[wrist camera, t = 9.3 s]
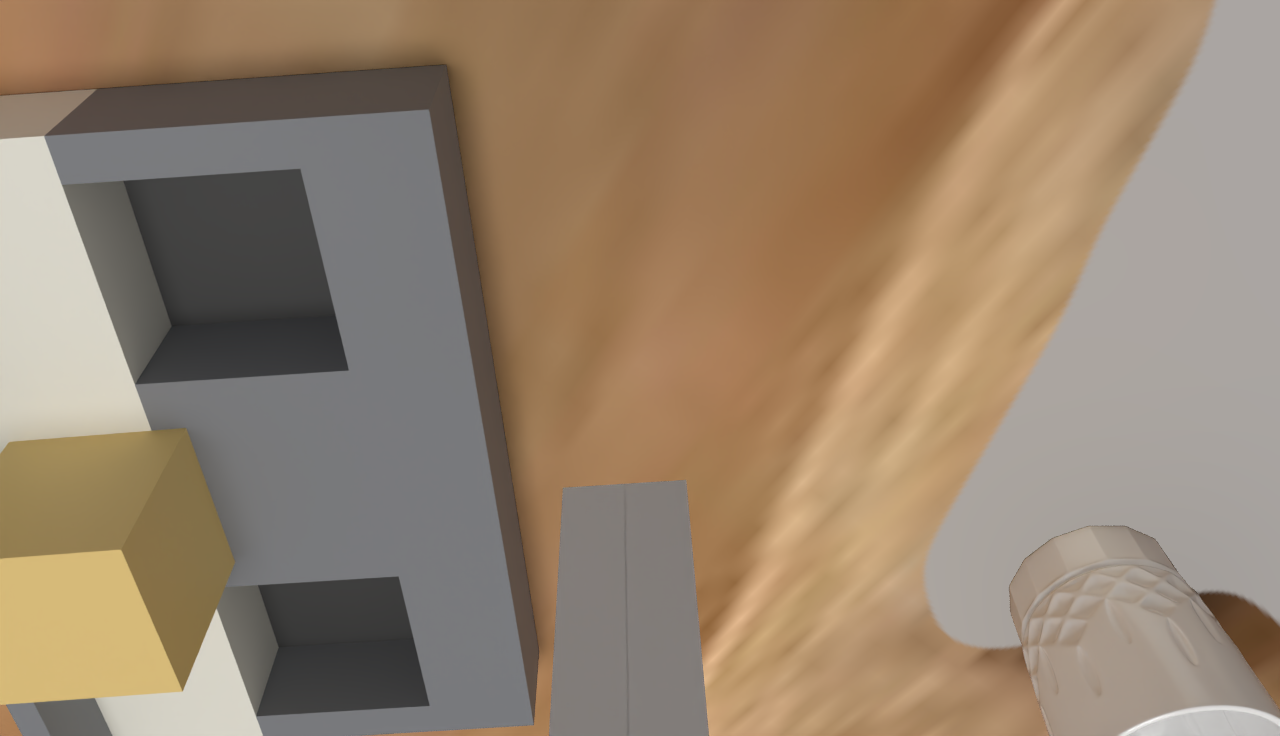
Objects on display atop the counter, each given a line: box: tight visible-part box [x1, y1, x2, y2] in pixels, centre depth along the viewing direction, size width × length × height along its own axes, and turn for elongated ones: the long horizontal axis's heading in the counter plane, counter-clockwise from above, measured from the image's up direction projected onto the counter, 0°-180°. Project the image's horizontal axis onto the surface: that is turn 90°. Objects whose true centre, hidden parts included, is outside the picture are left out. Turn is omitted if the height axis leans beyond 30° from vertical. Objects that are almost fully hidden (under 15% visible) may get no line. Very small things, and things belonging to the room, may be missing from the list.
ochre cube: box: [0, 428, 235, 705], centre depth 37 cm, size 6×6×6 cm
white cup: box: [1009, 526, 1280, 736], centre depth 44 cm, size 8×8×10 cm
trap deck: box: [0, 65, 539, 736], centre depth 40 cm, size 18×26×7 cm
